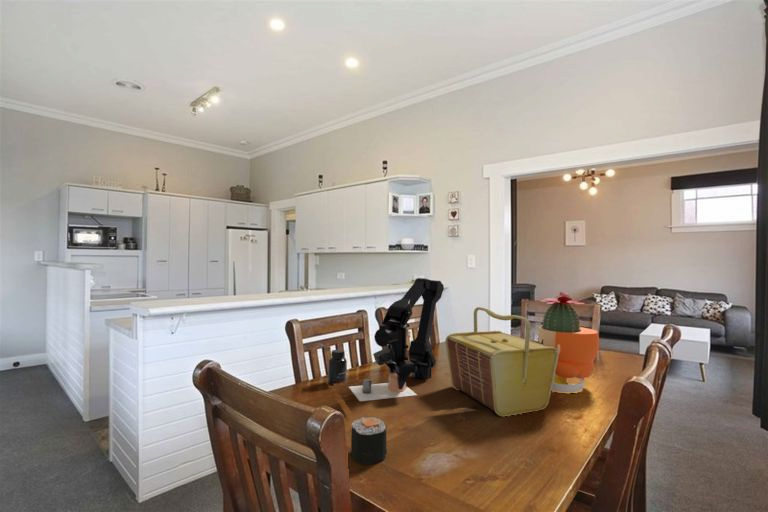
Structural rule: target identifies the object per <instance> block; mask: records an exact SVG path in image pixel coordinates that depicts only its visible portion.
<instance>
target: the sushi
mask: <svg viewBox="0 0 768 512" xmlns="http://www.w3.org/2000/svg"><path fill="white" fill-rule="evenodd" d="M350 424H351V437H350V438H351V439H350V440H351V444H350V445H351V446H350V449H351V450H350V453H351V455H350V456H351V457H352V458H353V459H354V461H355V462H357V463H358V464H360V465H367V466H368V465H374V464H376V463H380V462H383V461H384V460H385V459H386V455H387V454H388V453H387V450H388V449H387V425H385V423H384V421H383V420H381V419H379V418H376V417H374V416H373V417H365V416H364V417H360V419H359V418H357V419H355V420H353V422H351V423H350Z"/></svg>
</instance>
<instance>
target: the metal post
mask: <svg viewBox="0 0 768 512" xmlns="http://www.w3.org/2000/svg"><path fill="white" fill-rule="evenodd" d="M362 385H363V387H362V393H364V394H370V393H371V385H372V379H370V378H365V379H362Z"/></svg>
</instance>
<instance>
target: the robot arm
mask: <svg viewBox="0 0 768 512" xmlns="http://www.w3.org/2000/svg"><path fill="white" fill-rule="evenodd" d="M444 289H445V288H444V284H443V283H442V281H441V280H437V279H436V280H433V279H428V278H423V277H418V278H415V280H414V282H413V284H412V285H411V287H409V289H408V290H407V291H406V293H405V294H404V295H403V297H401V299H398V300H396V301H394V302H393V303H392V304H391V305H390V306H388V309H387V311H386V312H385V316H384V318H383V320H382V323H381V325H379V328H378V329H377V330H375V331H376V332H375V334H374V337H373V338H374V341H375V343H376V345H378V346H379V347H386V346H387V347H386V348H383V349H381V350H378V351H376V352H374V353H373V354H372V355H373V358H374V360H375V363H376V364H377V365H378V366H383V365H385V366H387V367H388V371H389V374H390V373H394V372H395V373H396V374H397V379H398V387H399V389H402V388H403V386H404V384H405V382H406V383H407V380H408V379H409V376H410V375H411V378H413V379H415V380H429V379H431V378H432V368H434V367H435V365H436V361H437V359H436V358H435V356H434V354H433V347H432V343H431V340H430V339H431V334H432V327H433V321H434V317H435V311H436V304H437V302H439V300H441V298H442V296H443V292H444V291H445V290H444ZM420 298H422V300H423V303H422V309H421V313H420V319H419V322H418V328H417V329H418V330H417V333H416V334H417V335H416V337H415V339H414V340H411V341H410V343H409V345H408V344H407V333H408V328H409V327H410V323H408V322H409V321H410V318H411V317H412V315H413V308H414V306H415V305H416V304H417V302H418V301H419V300H420ZM407 349H408V356H407Z"/></svg>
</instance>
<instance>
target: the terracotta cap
mask: <svg viewBox="0 0 768 512" xmlns="http://www.w3.org/2000/svg"><path fill="white" fill-rule="evenodd" d="M387 383H388V389H389V390H390V391H393V392H403V391H405V390H406V386H407V381H406V382H405V384H404V386H403V388H402V389H399V387H398V379H397V374H396V373H395V372H394V373H390V372H389V374H388V382H387Z"/></svg>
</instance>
